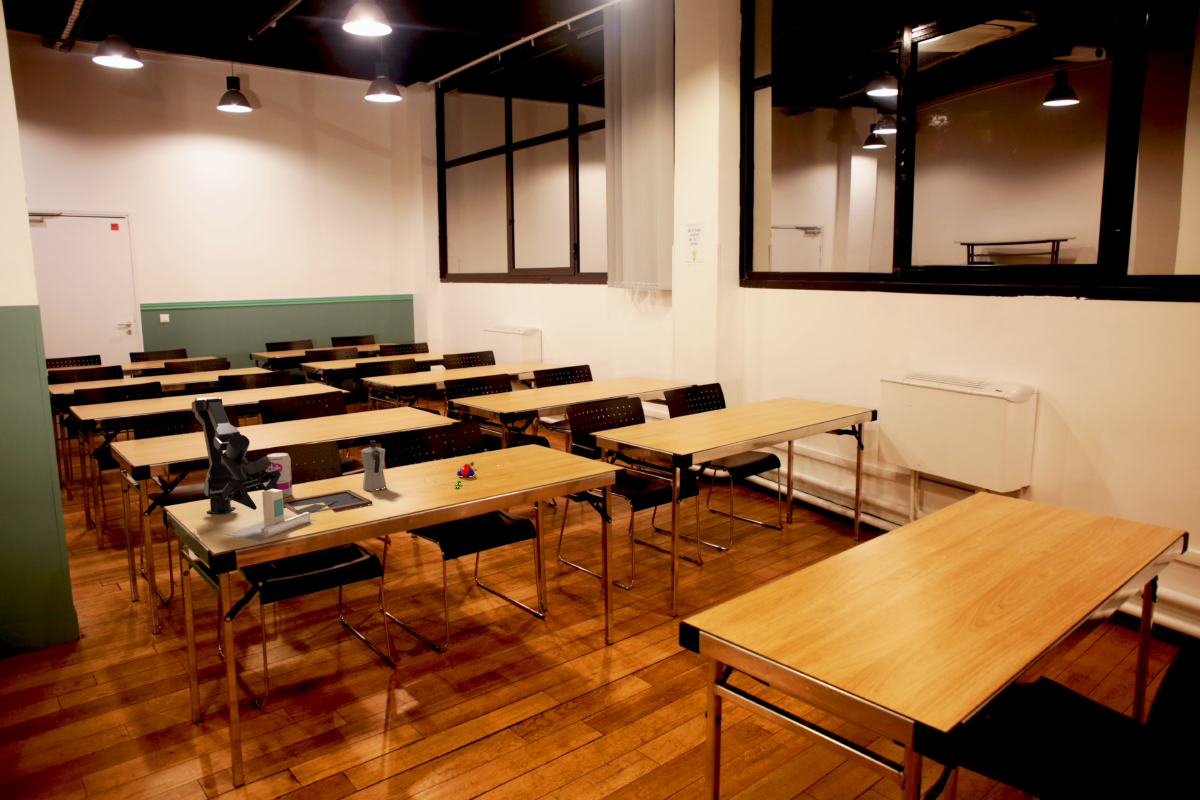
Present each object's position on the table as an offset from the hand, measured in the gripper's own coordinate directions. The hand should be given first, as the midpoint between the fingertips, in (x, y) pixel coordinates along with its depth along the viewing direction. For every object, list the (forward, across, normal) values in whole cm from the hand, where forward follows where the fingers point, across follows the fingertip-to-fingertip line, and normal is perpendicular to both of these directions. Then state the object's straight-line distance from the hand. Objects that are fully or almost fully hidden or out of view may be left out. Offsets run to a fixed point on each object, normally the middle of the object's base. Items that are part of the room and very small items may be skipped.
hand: (267, 504), depth 232 cm
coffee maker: (+5, +52, +7) cm, 53 cm away
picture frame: (+4, +28, +9) cm, 30 cm away
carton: (+6, 0, +3) cm, 7 cm away
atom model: (+20, +80, -8) cm, 83 cm away
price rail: (+10, 0, 0) cm, 10 cm away
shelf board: (+6, 0, +4) cm, 8 cm away
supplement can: (-13, +30, +24) cm, 41 cm away
